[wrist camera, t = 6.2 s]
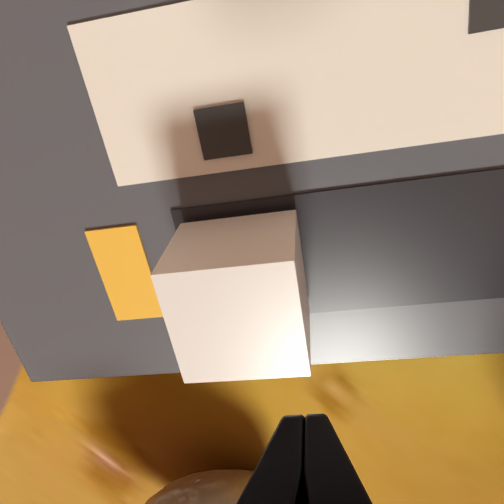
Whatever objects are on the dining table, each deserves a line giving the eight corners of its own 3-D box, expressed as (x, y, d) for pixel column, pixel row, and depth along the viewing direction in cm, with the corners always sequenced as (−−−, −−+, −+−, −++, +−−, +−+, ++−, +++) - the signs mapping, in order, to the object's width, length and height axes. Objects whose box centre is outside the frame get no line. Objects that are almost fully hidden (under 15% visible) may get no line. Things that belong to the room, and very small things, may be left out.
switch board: (703, 304, 18) (752, 341, 16) (53, 352, 22) (28, 385, 20) (1056, -745, 8) (1305, -994, 6) (-238, -268, 12) (-338, -320, 11)
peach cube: (309, 309, 17) (311, 376, 14) (205, 317, 17) (184, 383, 14) (296, 209, 15) (294, 260, 12) (180, 223, 16) (150, 275, 12)
